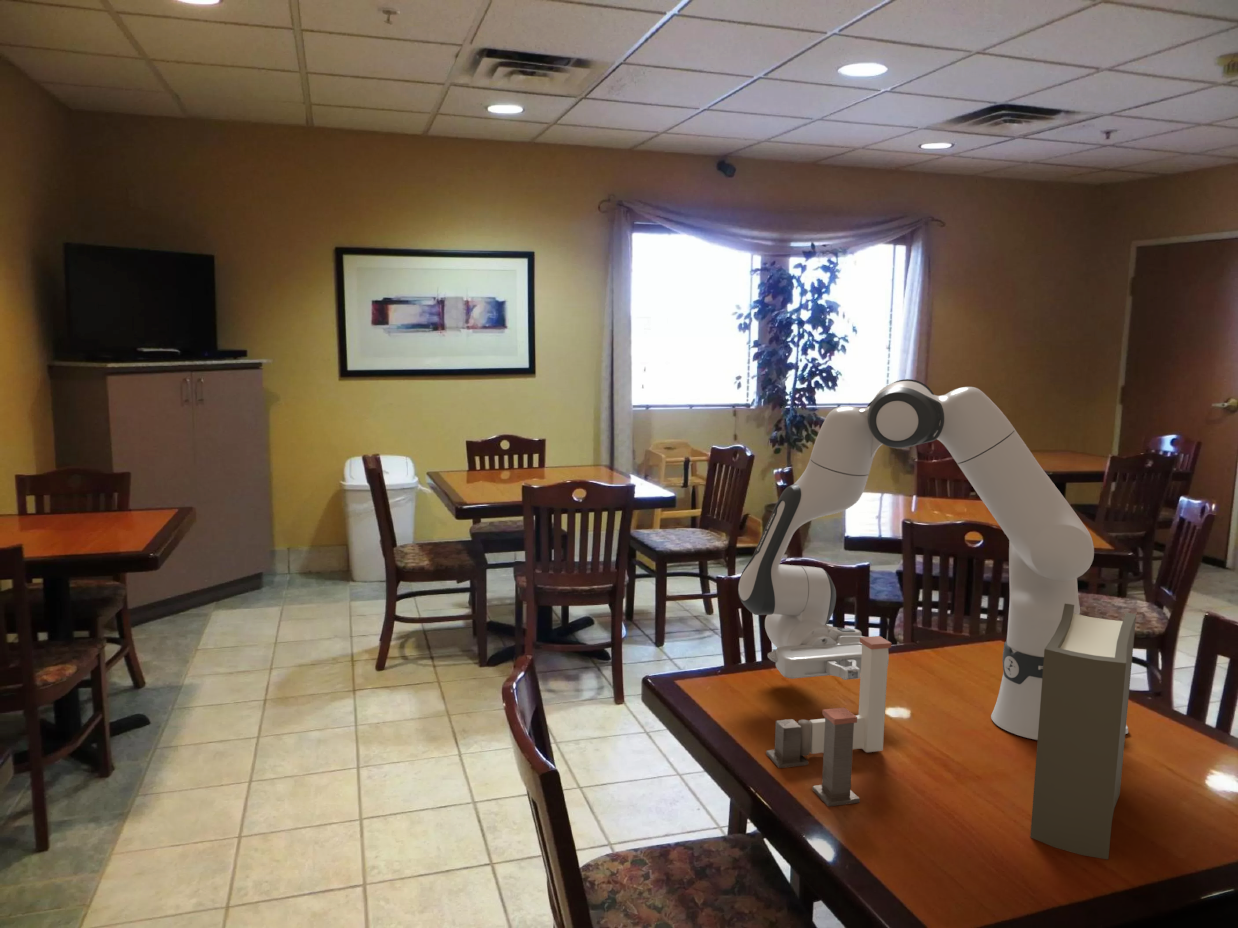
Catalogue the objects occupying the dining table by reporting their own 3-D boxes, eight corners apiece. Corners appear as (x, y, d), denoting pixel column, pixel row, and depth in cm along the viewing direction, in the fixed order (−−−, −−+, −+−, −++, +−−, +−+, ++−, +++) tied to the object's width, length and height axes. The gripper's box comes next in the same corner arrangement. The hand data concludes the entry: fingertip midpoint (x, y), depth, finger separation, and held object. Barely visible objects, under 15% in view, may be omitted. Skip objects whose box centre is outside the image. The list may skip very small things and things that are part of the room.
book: (1107, 866, 115) (1126, 660, 110) (1029, 843, 120) (1044, 646, 115) (1119, 793, 132) (1136, 614, 128) (1051, 776, 137) (1064, 603, 133)
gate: (873, 741, 148) (879, 635, 145) (885, 750, 144) (891, 642, 142) (792, 750, 144) (796, 642, 142) (802, 760, 141) (807, 649, 138)
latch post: (842, 785, 133) (846, 705, 132) (859, 802, 129) (864, 718, 127) (812, 789, 132) (816, 707, 131) (828, 806, 127) (832, 721, 126)
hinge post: (794, 750, 145) (795, 715, 144) (808, 764, 140) (809, 728, 139) (766, 753, 144) (767, 718, 143) (779, 767, 139) (780, 731, 138)
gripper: (764, 635, 161) (797, 661, 148) (865, 628, 166) (906, 652, 153) (763, 669, 162) (796, 697, 149) (863, 660, 167) (904, 687, 154)
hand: (852, 674), depth 151 cm, fingers closed
